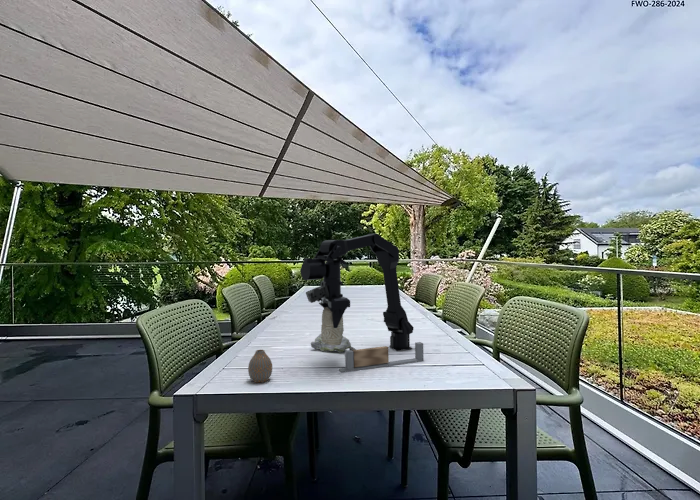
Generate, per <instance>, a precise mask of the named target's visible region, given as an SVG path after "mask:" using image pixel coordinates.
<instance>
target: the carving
mask: <svg viewBox="0 0 700 500" xmlns="http://www.w3.org/2000/svg"><path fill="white" fill-rule="evenodd" d="M320 326H321V330H320V334H321V337H322V338H321V339H322V342H323V343H325V344H328V345H340V344H341V343H342V338H343V336H344V330H345V329H344V315H343V316H342V318H341V320H340V322H339V325H338V327H337V328H334V327H333V321H332V314H331V311H330V310H329V309H328V308H327V307H325V308H323V310H322V313H321V325H320Z"/></svg>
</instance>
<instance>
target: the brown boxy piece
mask: <svg viewBox="0 0 700 500" xmlns="http://www.w3.org/2000/svg"><path fill="white" fill-rule="evenodd" d="M348 350H352V351H353V355H354V367H361V366H368V365H375V364H383V363H389V362H390V361H389V359H390V357H389V346H386V345H383V346H376V347H368V348H361V349H359V348H358V349H357V348H354V347H353V346H351V347H350V348H348Z"/></svg>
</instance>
